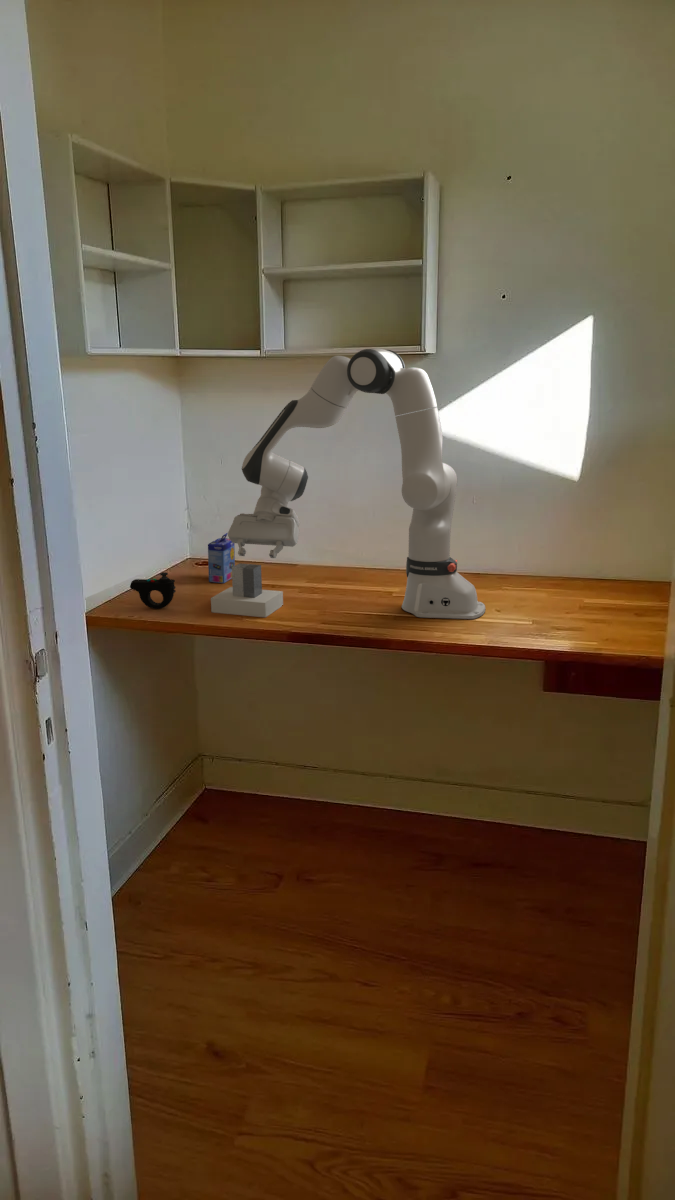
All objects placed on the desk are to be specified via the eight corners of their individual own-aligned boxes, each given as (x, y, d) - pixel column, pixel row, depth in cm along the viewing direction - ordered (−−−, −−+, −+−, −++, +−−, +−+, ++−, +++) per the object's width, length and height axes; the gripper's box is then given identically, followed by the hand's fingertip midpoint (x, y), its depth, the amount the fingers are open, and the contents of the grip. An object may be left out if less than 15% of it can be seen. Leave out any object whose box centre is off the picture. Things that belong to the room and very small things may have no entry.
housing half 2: (262, 593, 232) (261, 564, 230) (254, 597, 227) (253, 569, 225) (251, 592, 233) (250, 564, 231) (243, 597, 228) (242, 568, 226)
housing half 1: (251, 592, 233) (250, 564, 231) (243, 597, 228) (242, 568, 226) (240, 591, 234) (239, 563, 232) (232, 596, 229) (231, 567, 227)
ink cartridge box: (225, 583, 258) (223, 537, 254) (208, 583, 259) (205, 536, 255) (236, 576, 267) (234, 530, 263) (220, 575, 268) (217, 530, 264)
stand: (283, 605, 235) (282, 591, 234) (265, 617, 224) (265, 602, 223) (230, 600, 240) (230, 586, 239) (211, 612, 229) (210, 598, 228)
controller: (174, 610, 231) (171, 575, 228) (130, 609, 232) (127, 574, 229) (178, 606, 235) (176, 571, 232) (135, 605, 236) (132, 570, 233)
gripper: (232, 507, 241) (218, 547, 235) (299, 510, 235) (287, 551, 228) (239, 519, 246) (226, 559, 240) (305, 523, 240) (293, 564, 234)
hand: (256, 556), depth 234 cm, fingers open, 8 cm apart
